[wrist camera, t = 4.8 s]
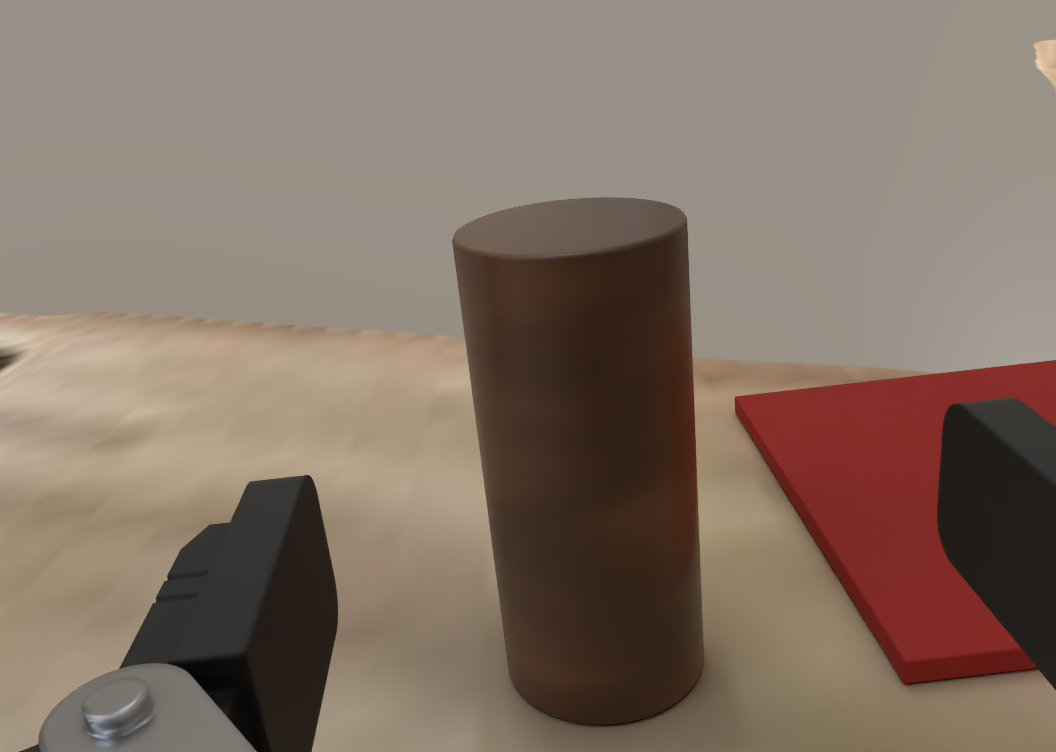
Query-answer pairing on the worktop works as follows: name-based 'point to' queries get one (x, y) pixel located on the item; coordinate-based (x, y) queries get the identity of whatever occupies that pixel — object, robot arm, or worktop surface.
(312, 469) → the worktop surface
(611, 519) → the roller
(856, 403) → the red pad
